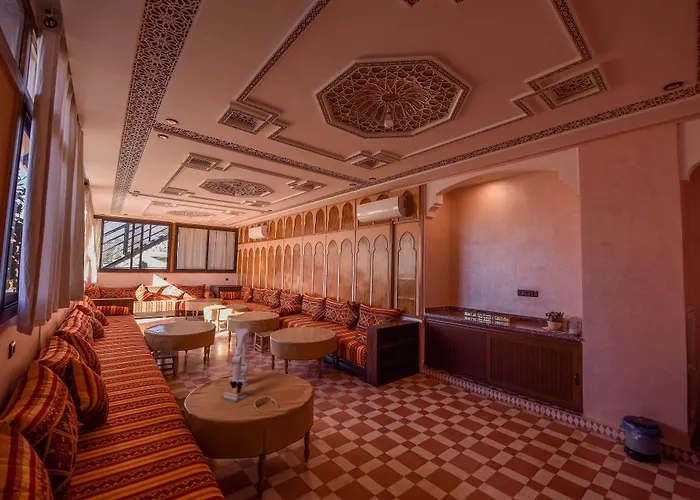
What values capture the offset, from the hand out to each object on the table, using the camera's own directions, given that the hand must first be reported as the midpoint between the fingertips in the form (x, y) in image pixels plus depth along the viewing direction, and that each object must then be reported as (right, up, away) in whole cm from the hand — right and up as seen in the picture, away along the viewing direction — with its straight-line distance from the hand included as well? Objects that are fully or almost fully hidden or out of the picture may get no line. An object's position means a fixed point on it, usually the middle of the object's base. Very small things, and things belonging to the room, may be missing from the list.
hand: (236, 391), depth 229 cm
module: (0, -2, 0) cm, 2 cm away
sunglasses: (+25, -4, -17) cm, 31 cm away
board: (-1, -3, -2) cm, 4 cm away
